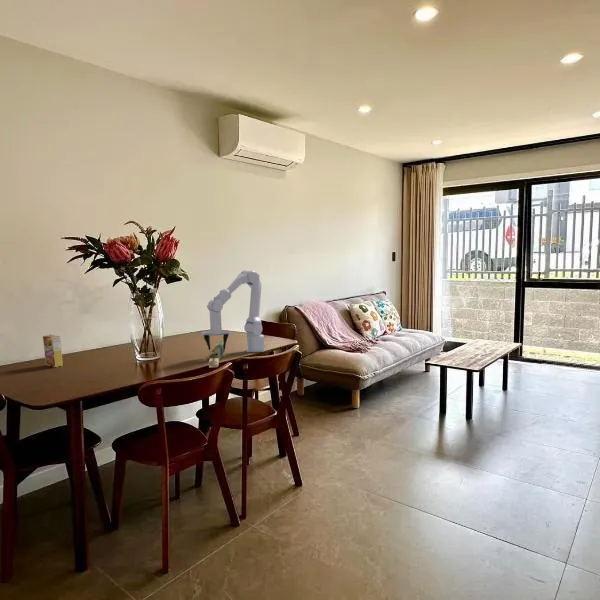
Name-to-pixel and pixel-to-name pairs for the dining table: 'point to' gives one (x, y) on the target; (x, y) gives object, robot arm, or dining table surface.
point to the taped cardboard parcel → (213, 362)
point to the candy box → (52, 350)
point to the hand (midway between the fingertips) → (217, 349)
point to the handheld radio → (219, 350)
